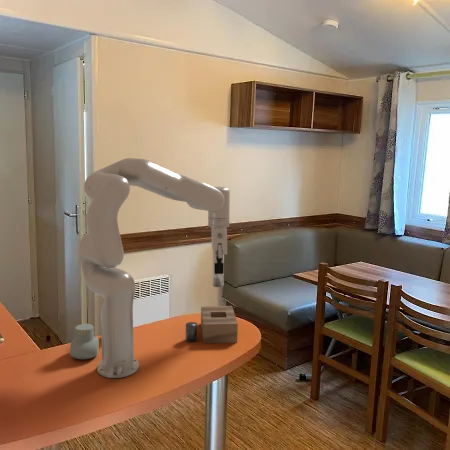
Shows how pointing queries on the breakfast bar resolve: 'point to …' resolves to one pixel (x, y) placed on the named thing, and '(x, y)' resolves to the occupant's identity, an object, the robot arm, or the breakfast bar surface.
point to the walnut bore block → (218, 324)
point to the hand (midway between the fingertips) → (218, 271)
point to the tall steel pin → (218, 275)
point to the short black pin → (191, 332)
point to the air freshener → (84, 342)
